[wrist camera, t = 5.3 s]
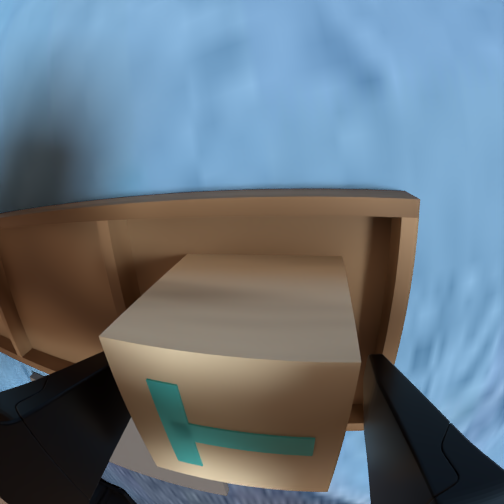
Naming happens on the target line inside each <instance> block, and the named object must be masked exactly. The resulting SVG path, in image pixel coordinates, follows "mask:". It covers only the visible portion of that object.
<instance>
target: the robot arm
mask: <svg viewBox="0 0 504 504" xmlns="http://www.w3.org/2000/svg"><path fill="white" fill-rule="evenodd" d="M363 401H364V435H365V444H366V453H367V462H368V473H369V485H370V499H371V504H504V469H502V468H501V467H500V466H499V465H497V464H496V463H495V462H494V461H492V460H491V459H490V458H489V457H488V456H486V455H485V454H484V453H483V452H481V451H480V450H479V449H478V448H477V447H476V446H474V445H473V444H472V443H471V442H470V441H469V440H468V439H467V438H466V437H465V436H464V435H463V434H462V433H461V432H460V431H459V430H458V429H457V428H456V427H455V426H454V425H453V424H452V423H450V421H449V420H448V419H447V418H446V417H445V416H444V415H443V414H442V413H441V412H440V411H439V410H438V409H437V408H436V407H435V406H434V405H433V404H432V403H431V402H430V401H429V400H428V399H427V398H426V397H425V396H424V395H423V394H422V393H421V392H420V391H419V390H418V389H417V388H416V387H415V386H414V385H413V384H412V383H411V382H410V381H409V380H408V379H407V378H406V377H405V376H404V375H403V374H402V373H401V372H400V371H399V370H398V369H397V368H396V367H395V366H394V365H393V364H392V363H391V362H390V361H389V360H388V359H387V358H386V357H385V356H384V355H383V354H370V355H368V358H367V362H366V367H365V372H364V378H363ZM130 419H131V415H130V413H129V411H128V409H127V407H126V404H125V402H124V400H123V398H122V395H121V393H120V391H119V388H118V386H117V384H116V381H115V379H114V376H113V374H112V371H111V369H110V366H109V363H108V361H107V358H106V355H105V353H104V351H102V352H100V353H98V354H96V355H93V356H91V357H89V358H86V359H84V360H82V361H80V362H77V363H75V364H73V365H70V366H68V367H66V368H63V369H61V370H59V371H56V372H54V373H51V374H50V375H47V376H44V377H42V378H39V379H37V380H34V381H32V382H29V383H27V384H24V385H21V386H18V387H15V388H12V389H9V390H5V391H2V392H0V504H135V503H134V502H133V501H132V499H131V498H130V497H129V496H128V495H127V494H126V493H125V492H124V491H123V490H121V489H119V488H116V487H114V486H112V485H109V484H107V483H105V482H103V481H100V479H101V477H102V475H103V473H104V470H105V468H106V466H107V464H108V462H109V460H110V458H111V456H112V454H113V452H114V450H115V448H116V446H117V444H118V442H119V440H120V438H121V436H122V434H123V433H124V431H125V429H126V427H127V425H128V423H129V421H130ZM449 423H450V424H449Z"/></svg>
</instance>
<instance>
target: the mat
mask: <svg viewBox="0 0 504 504" xmlns="http://www.w3.org/2000/svg"><path fill="white" fill-rule="evenodd" d="M42 377H44V376H41V375H39V374H37V373H35V372H34V373H33V374H32V375H31V376H30V378H31V380H32V381H34V380H37V379H39V378H42ZM109 462H112V463H114V464H117V465H119V466H122V467H124V468H127V469H130V470H132V471H135V472H138V473H141V474H144V475H147V476H150V477H153V478H156V479H159V480H163V481H166V482H170V483H173V484H177V485H180V486H184V487H188V488H192V489H196V490H201V491H205V492H210V493H215V494H220V495H225V496H227V494H228V491H229V487H228V484H227V483H225V482H220V481H215V480H210V479H205V478H200V477H196V476H192V475H187V474H183V473H179V472H176V471H172V470H168V469H165V468H161V467H158V466H157V465H156V463H155V462H154V460H153V458H152V456H151V454H150V453H149V451H148V449H147V447H146V445H145V443H144V441H143V439H142V438H141V436H140V434H139V432H138V430H137V428H136V426H135V424H134V421H133V419H132V417H131V419H130V421H129V423H128V425H127V427H126V429H125V431H124V433H123V434H122V436H121V438H120V440H119V442H118V444H117V446H116V448H115V450H114V452H113V454H112V456H111V458H110V460H109Z"/></svg>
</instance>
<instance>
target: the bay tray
mask: <svg viewBox="0 0 504 504" xmlns="http://www.w3.org/2000/svg"><path fill="white" fill-rule="evenodd" d="M419 207H420V199H418V198H417V197H415V196H413V195H411V194H409V193H407V192H406V191H395V190H368V189H252V190H224V191H203V192H185V193H170V194H156V195H144V196H132V197H121V198H111V199H101V200H92V201H83V202H75V203H67V204H59V205H51V206H44V207H37V208H30V209H24V210H17V211H11V212H5V213H0V352H2V353H4V354H6V355H8V356H10V357H12V358H14V359H16V360H18V361H20V362H22V363H25V364H27V365H29V366H31V367H33V368H36V369H38V370H40V371H43V372H45V373H47V374H51V373H54V372H56V371H59V370H61V369H63V368H66V367H68V366H70V365H73V364H75V363H77V362H80V361H82V360H84V359H86V358H89V357H91V356H93V355H96V354H98V353H100V352H102V351H104V350H103V347H102V344H101V342H100V339H99V336H100V335H101V334H102V333H103V332H104V331H105V330H106V329H107V328H108V327H109V326H110V325H111V324H112V323H113V322H114V321H115V320H116V319H117V318H118V317H119V316H120V315H121V314H122V313H124V312H125V311H126V310H127V309H128V308H129V307H130V306H131V305H132V304H133V303H134V302H135V301H136V300H137V299H138V298H140V297H141V296H142V295H143V294H144V293H145V292H146V291H147V290H148V289H149V288H150V287H151V286H153V285H154V284H155V283H156V282H157V281H158V280H159V279H160V278H161V277H162V276H163V275H165V274H166V273H167V272H168V271H169V270H170V269H171V268H172V267H173V266H174V265H176V264H177V263H178V262H179V261H180V260H181V259H182V258H183V257H185V256H186V255H187V254H228V255H296V256H342V258H343V263H344V267H345V272H346V277H347V282H348V287H349V292H350V297H351V303H352V308H353V314H354V320H355V325H356V331H357V338H358V344H359V351H360V357H361V366H360V371H359V376H358V381H357V386H356V391H355V395H354V400H353V404H352V408H351V413H350V417H349V421H348V425H347V428H346V431H362V430H364V401H363V378H364V372H365V367H366V362H367V358H368V355H370V354H383V355H384V356H385V357H386V358H387V359H388V360H389V361H390V362H391V363H392V364H393V365H394V364H395V360H396V356H397V352H398V348H399V343H400V339H401V335H402V330H403V325H404V321H405V316H406V310H407V305H408V299H409V294H410V288H411V281H412V275H413V267H414V260H415V252H416V243H417V233H418V221H419Z"/></svg>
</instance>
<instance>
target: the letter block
mask: <svg viewBox="0 0 504 504" xmlns="http://www.w3.org/2000/svg"><path fill="white" fill-rule="evenodd" d="M99 339H100V342H101V344H102V347H103V350H104V353H105V355H106V358H107V361H108V363H109V366H110V369H111V371H112V374H113V376H114V379H115V381H116V384H117V386H118V388H119V391H120V393H121V395H122V398H123V400H124V402H125V404H126V407H127V409H128V411H129V413H130V415H131V417H132V419H133V421H134V424H135V426H136V428H137V430H138V432H139V434H140V436H141V438H142V439H143V441H144V443H145V445H146V447H147V449H148V451H149V453H150V454H151V456H152V458H153V460H154V462H155V463H156V465H157V466H158V467H161V468H165V469H168V470H172V471H176V472H179V473H183V474H187V475H192V476H196V477H200V478H205V479H210V480H215V481H220V482H225V483H231V484H237V485H244V486H251V487H259V488H268V489H278V490H291V491H310V492H328V489H329V486H330V483H331V480H332V477H333V474H334V470H335V467H336V464H337V461H338V457H339V454H340V450H341V447H342V443H343V440H344V436H345V432H346V428H347V425H348V421H349V417H350V413H351V408H352V404H353V400H354V395H355V391H356V386H357V381H358V376H359V371H360V366H361V357H360V351H359V344H358V338H357V331H356V325H355V320H354V314H353V308H352V303H351V297H350V292H349V287H348V282H347V277H346V272H345V267H344V263H343V258H342V256H296V255H228V254H187V255H186V256H185V257H183V258H182V259H181V260H180V261H179V262H178V263H177V264H176V265H174V266H173V267H172V268H171V269H170V270H169V271H168V272H167V273H166V274H165V275H163V276H162V277H161V278H160V279H159V280H158V281H157V282H156V283H155V284H154V285H153V286H151V287H150V288H149V289H148V290H147V291H146V292H145V293H144V294H143V295H142V296H141V297H140V298H138V299H137V300H136V301H135V302H134V303H133V304H132V305H131V306H130V307H129V308H128V309H127V310H126V311H125V312H124V313H122V314H121V315H120V316H119V317H118V318H117V319H116V320H115V321H114V322H113V323H112V324H111V325H110V326H109V327H108V328H107V329H106V330H105V331H104V332H103V333H102V334H101V335H100V336H99Z"/></svg>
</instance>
